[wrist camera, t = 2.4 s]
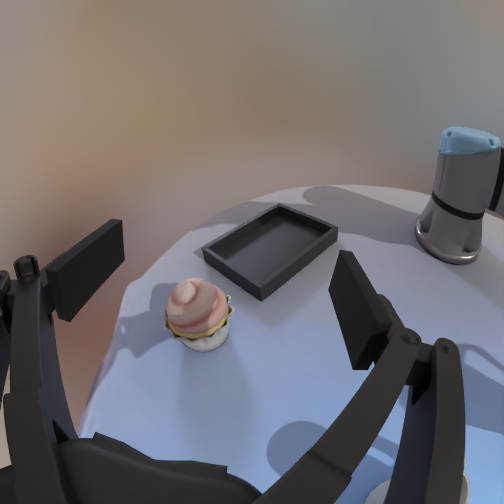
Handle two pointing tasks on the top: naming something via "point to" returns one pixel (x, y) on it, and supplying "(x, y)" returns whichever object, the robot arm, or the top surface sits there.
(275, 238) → the baking tray
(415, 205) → the top surface
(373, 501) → the cup
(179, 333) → the cupcake
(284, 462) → the top surface
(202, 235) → the top surface
